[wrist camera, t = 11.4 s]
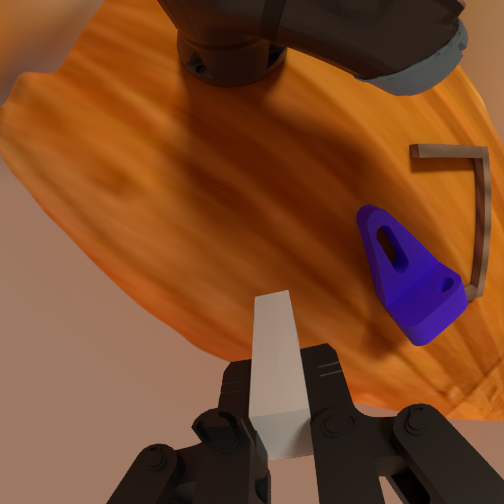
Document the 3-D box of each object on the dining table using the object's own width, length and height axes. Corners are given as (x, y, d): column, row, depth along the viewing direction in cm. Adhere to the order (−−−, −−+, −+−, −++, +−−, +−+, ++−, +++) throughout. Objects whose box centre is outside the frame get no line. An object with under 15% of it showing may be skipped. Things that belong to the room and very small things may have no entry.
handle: (409, 144, 33) (417, 144, 31) (479, 147, 32) (487, 147, 30) (411, 310, 41) (418, 317, 39) (475, 290, 40) (482, 295, 38)
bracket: (433, 272, 39) (473, 301, 28) (387, 311, 42) (418, 351, 30) (387, 185, 36) (432, 194, 24) (332, 230, 38) (361, 255, 27)
